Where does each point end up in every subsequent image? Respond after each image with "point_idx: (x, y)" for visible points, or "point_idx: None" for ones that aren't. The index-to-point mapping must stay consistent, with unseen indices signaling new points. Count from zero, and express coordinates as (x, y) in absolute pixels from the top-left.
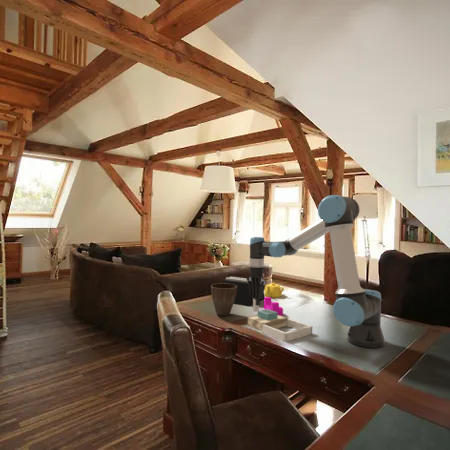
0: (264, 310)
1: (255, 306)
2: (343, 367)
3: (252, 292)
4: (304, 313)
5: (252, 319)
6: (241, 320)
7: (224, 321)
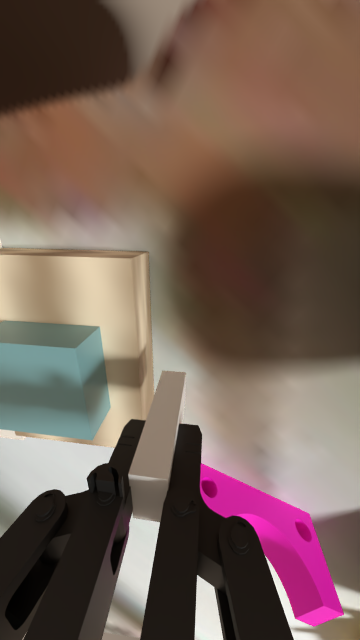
0: (73, 402)
1: (152, 406)
2: None
3: (181, 631)
4: (147, 549)
5: (74, 255)
6: (253, 291)
7: (335, 153)
